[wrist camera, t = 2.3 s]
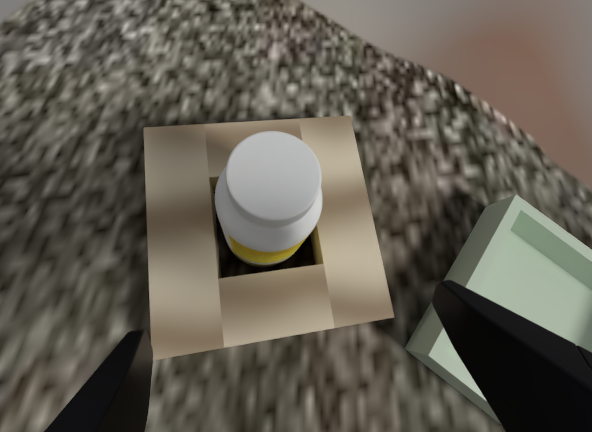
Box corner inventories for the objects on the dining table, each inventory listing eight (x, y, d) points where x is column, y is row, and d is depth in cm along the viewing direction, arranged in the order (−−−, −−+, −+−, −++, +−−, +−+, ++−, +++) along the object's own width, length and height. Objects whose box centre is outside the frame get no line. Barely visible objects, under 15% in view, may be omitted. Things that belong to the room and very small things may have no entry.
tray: (565, 475, 20) (617, 503, 18) (404, 348, 21) (428, 355, 18) (624, 309, 24) (674, 310, 21) (485, 206, 25) (515, 194, 22)
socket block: (378, 315, 22) (394, 317, 19) (163, 353, 19) (151, 360, 17) (340, 133, 25) (350, 115, 23) (154, 146, 23) (143, 127, 20)
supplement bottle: (316, 243, 22) (363, 200, 13) (248, 282, 21) (246, 265, 12) (278, 180, 23) (296, 97, 14) (210, 214, 22) (181, 147, 13)
